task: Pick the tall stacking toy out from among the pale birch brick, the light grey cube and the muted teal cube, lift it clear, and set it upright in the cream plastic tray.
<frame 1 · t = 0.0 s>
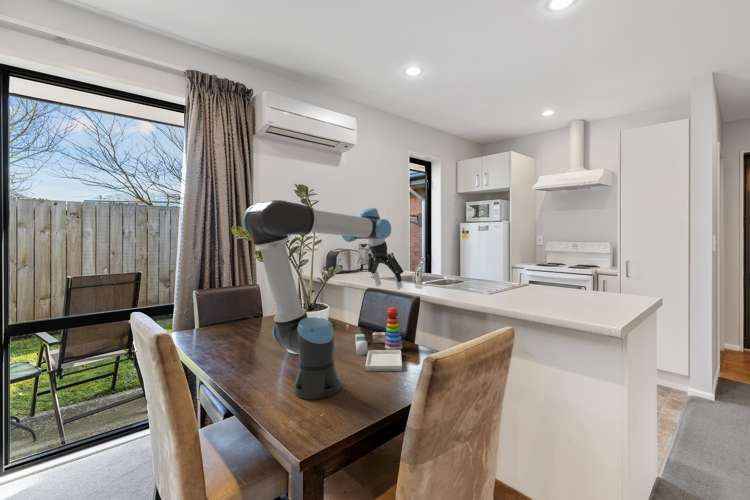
hand: (389, 286, 161), 28 cm above the table, tool tilted 20°, fingers open, 13 cm apart
teal cube: (360, 343, 169), on the table
birch brick: (379, 341, 172), on the table
cream tray: (384, 362, 144), on the table
light grey cube: (361, 353, 155), on the table
stacking toy: (393, 349, 160), on the table
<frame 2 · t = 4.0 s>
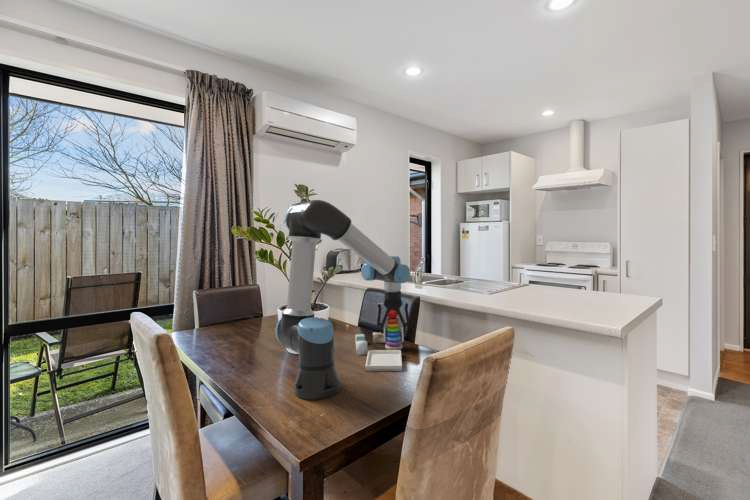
hand: (393, 340, 160), 4 cm above the table, tool pointing down, fingers closed on stacking toy, 7 cm apart
stacking toy: (393, 349, 160), on the table, touching gripper
everything else where it was.
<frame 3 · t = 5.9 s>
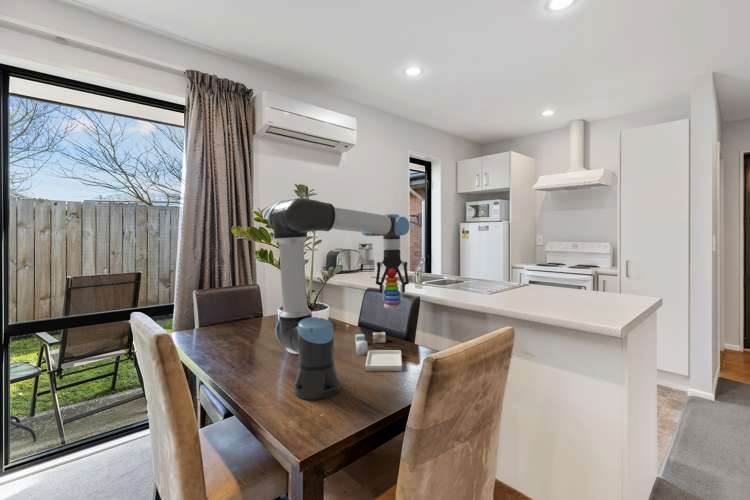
hand: (392, 299, 159), 22 cm above the table, tool pointing down, fingers closed on stacking toy, 7 cm apart
stacking toy: (392, 308, 159), point 18 cm above the table, touching gripper
everything else where it was.
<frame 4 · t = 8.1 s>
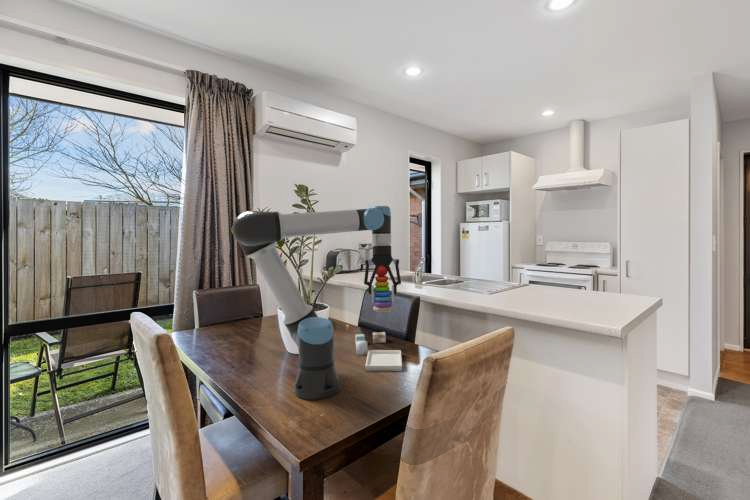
hand: (382, 301, 142), 25 cm above the table, tool pointing down, fingers closed on stacking toy, 7 cm apart
stacking toy: (383, 311, 143), point 21 cm above the table, touching gripper
everything else where it was.
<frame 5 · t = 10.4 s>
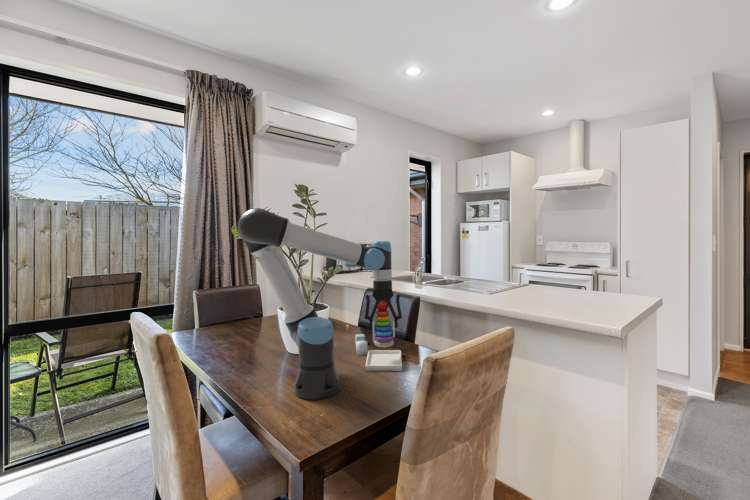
hand: (383, 335, 143), 11 cm above the table, tool pointing down, fingers closed on stacking toy, 7 cm apart
stacking toy: (384, 345, 143), point 7 cm above the table, touching gripper
everything else where it was.
when the fingers open (6 cm above the table, at t = 12.3 s): stacking toy drops 2 cm, resting on cream tray.
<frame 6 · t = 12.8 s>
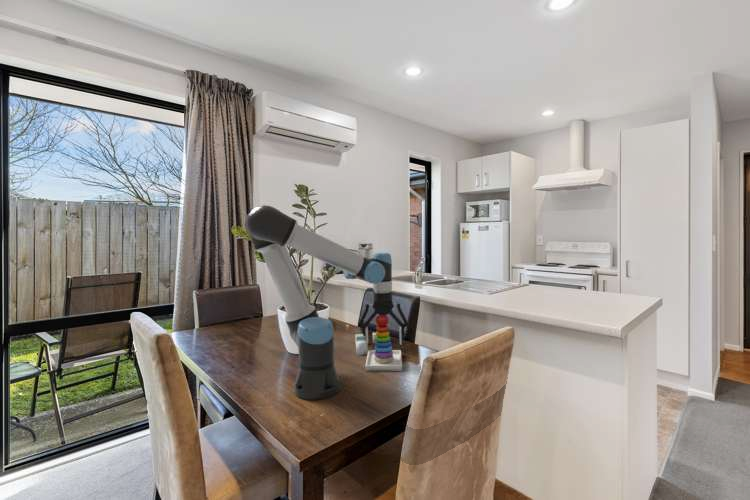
hand: (383, 343, 143), 8 cm above the table, tool pointing down, fingers open, 13 cm apart
stacking toy: (383, 360, 144), point 1 cm above the table, touching cream tray
everything else where it was.
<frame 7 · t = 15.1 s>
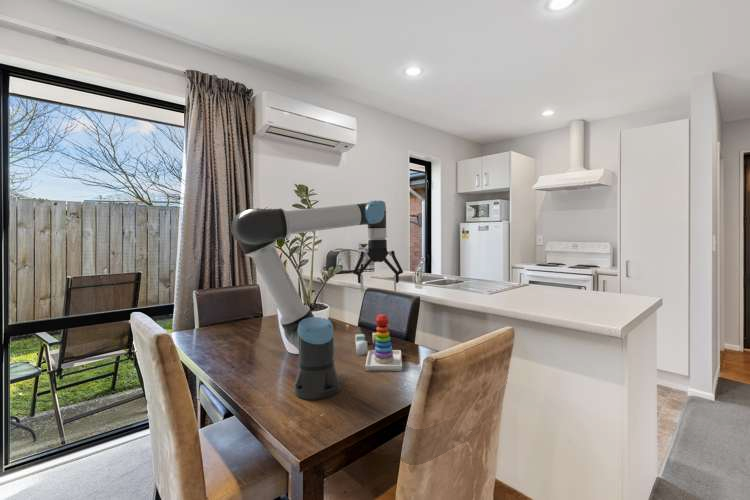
hand: (378, 291, 145), 29 cm above the table, tool pointing down, fingers open, 13 cm apart
nothing on the table moved.
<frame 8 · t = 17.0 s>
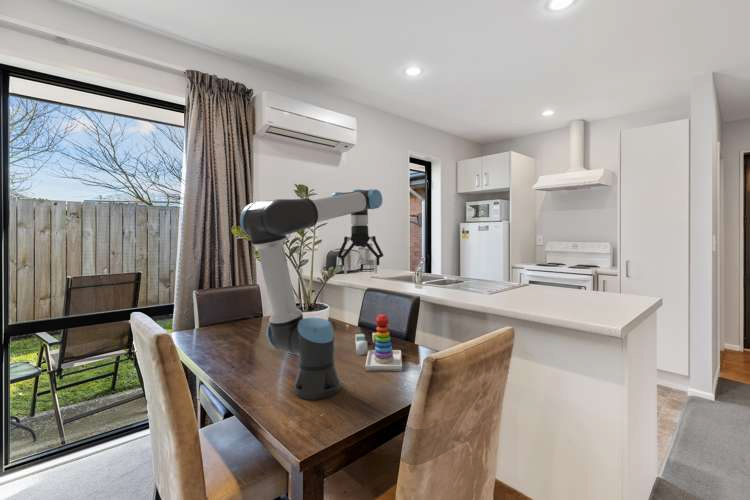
hand: (360, 273, 157), 35 cm above the table, tool pointing down, fingers open, 13 cm apart
nothing on the table moved.
at the end: stacking toy inside the target area on the cream tray (0.1 cm from its centre), point 0.6 cm above the cream tray's base; stacking toy tilted 0°; the gripper is holding nothing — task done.
